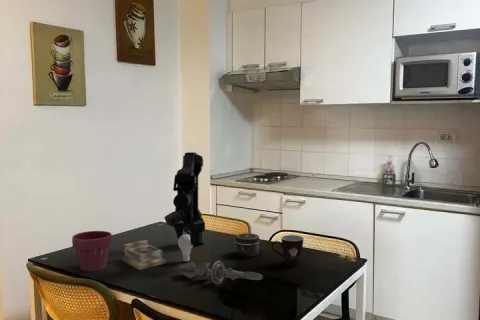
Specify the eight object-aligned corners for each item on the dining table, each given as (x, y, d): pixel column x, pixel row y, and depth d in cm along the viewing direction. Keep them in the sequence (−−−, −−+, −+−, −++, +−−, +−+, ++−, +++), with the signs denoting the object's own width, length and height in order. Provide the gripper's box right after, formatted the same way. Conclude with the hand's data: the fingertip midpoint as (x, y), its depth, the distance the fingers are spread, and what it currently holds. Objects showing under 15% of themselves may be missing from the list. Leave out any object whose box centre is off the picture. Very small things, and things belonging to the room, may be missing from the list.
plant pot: (101, 259, 185) (100, 228, 183) (119, 267, 175) (118, 234, 173) (67, 267, 175) (65, 235, 173) (83, 277, 165) (82, 242, 163)
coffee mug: (306, 261, 181) (306, 236, 180) (299, 267, 173) (299, 242, 172) (278, 257, 186) (278, 233, 185) (270, 263, 178) (270, 238, 177)
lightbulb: (178, 259, 184) (178, 232, 183) (194, 258, 185) (194, 232, 184) (177, 264, 178) (177, 236, 177) (194, 263, 178) (193, 236, 177)
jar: (231, 256, 188) (231, 237, 188) (240, 249, 197) (240, 232, 197) (254, 258, 185) (254, 240, 184) (262, 251, 194) (262, 234, 193)
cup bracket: (149, 254, 190) (148, 239, 190) (166, 263, 180) (166, 246, 179) (122, 260, 183) (121, 244, 182) (138, 269, 172) (138, 252, 171)
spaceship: (254, 274, 143) (264, 259, 149) (169, 267, 162) (181, 253, 168) (261, 294, 146) (271, 278, 152) (176, 284, 165) (188, 270, 171)
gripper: (155, 203, 181) (156, 241, 183) (180, 210, 167) (181, 252, 168) (179, 199, 188) (179, 236, 190) (205, 206, 174) (206, 246, 175)
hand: (186, 242), depth 181 cm, fingers open, 9 cm apart
